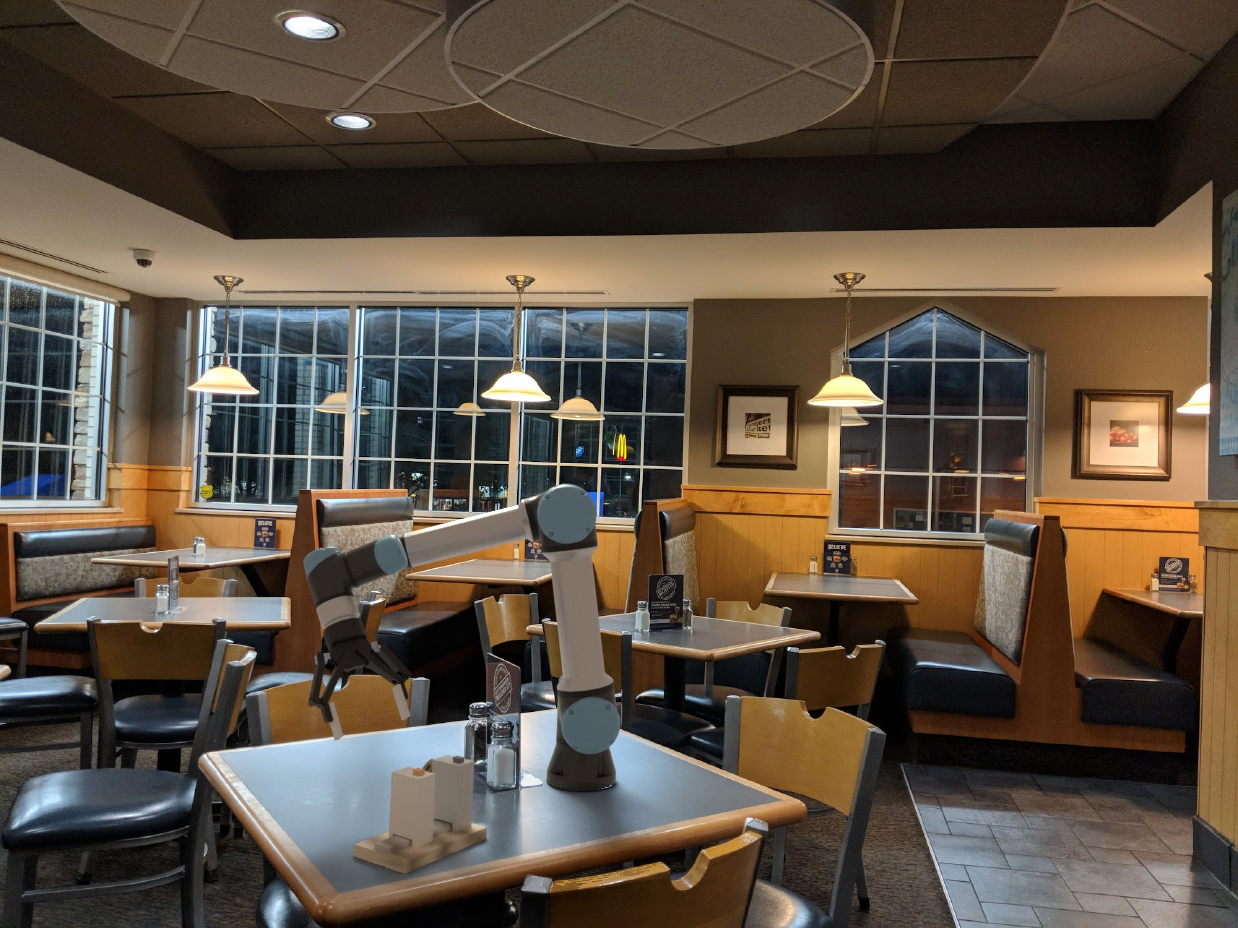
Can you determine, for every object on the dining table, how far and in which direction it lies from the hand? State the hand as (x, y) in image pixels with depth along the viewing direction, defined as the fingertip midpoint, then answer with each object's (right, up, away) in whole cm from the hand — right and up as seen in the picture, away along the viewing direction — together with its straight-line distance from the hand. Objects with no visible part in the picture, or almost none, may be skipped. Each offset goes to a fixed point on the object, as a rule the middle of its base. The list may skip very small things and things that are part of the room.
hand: (373, 728), depth 175 cm
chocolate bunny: (+10, -18, +6) cm, 21 cm away
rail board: (+12, -17, -14) cm, 25 cm away
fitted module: (+16, -15, -8) cm, 23 cm away
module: (+11, -14, -17) cm, 25 cm away
